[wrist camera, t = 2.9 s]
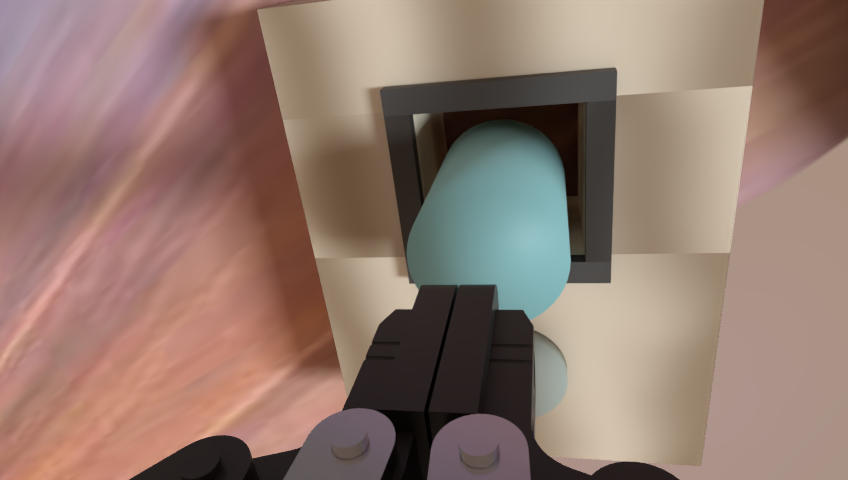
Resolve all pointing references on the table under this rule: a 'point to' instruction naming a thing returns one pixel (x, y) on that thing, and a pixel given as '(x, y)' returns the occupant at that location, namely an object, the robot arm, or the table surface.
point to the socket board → (587, 213)
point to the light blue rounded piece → (496, 218)
